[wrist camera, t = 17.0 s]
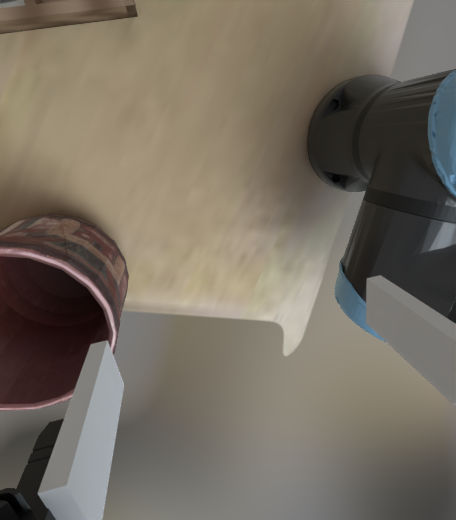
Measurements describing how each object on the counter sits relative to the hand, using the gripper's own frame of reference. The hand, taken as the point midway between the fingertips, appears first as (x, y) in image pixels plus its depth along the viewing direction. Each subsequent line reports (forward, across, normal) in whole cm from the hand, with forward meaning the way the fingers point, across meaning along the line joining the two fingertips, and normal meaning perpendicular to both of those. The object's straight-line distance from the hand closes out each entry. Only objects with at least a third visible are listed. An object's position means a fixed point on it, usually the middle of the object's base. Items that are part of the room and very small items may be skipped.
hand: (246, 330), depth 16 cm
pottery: (+32, +19, +5) cm, 37 cm away
